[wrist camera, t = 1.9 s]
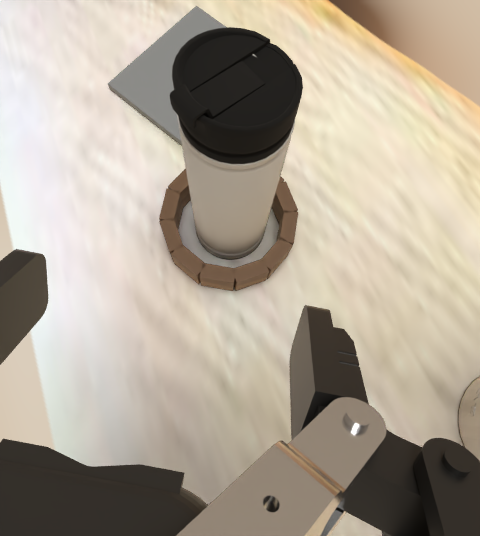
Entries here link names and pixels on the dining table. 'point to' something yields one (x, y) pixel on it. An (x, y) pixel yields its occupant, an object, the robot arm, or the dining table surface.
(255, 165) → the travel mug
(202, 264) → the ring
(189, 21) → the slate mat
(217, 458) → the dining table surface
